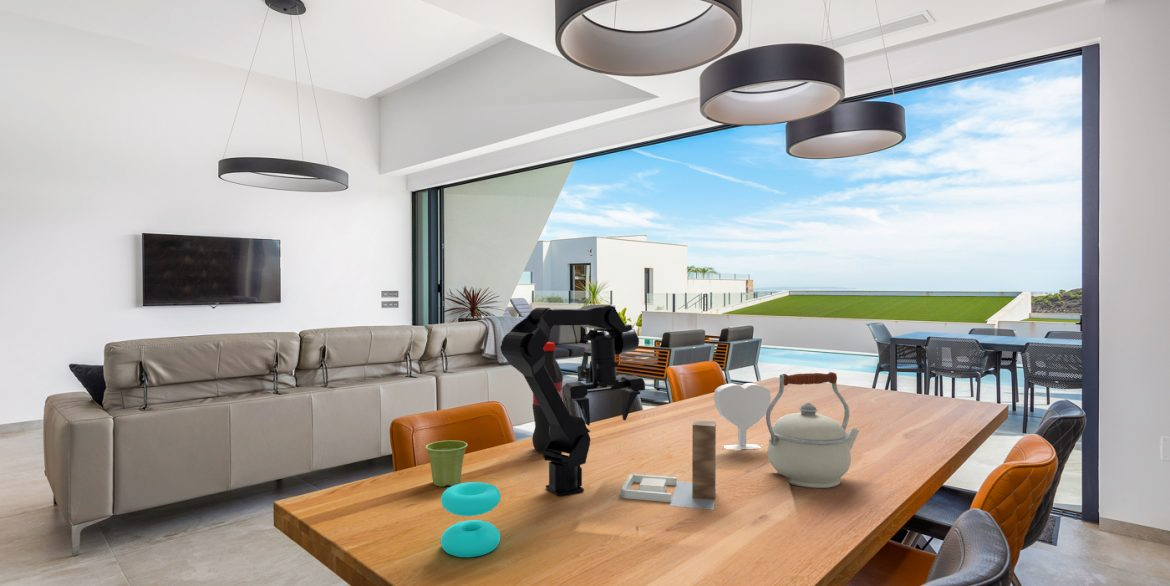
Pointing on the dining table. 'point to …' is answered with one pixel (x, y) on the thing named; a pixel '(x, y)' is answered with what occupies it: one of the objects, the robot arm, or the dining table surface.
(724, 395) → the heart sculpture
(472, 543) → the donuts
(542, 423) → the cola bottle
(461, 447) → the plant pot
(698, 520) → the dining table surface
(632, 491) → the tray
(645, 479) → the tile
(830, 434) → the kettle
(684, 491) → the board
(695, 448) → the walnut block
